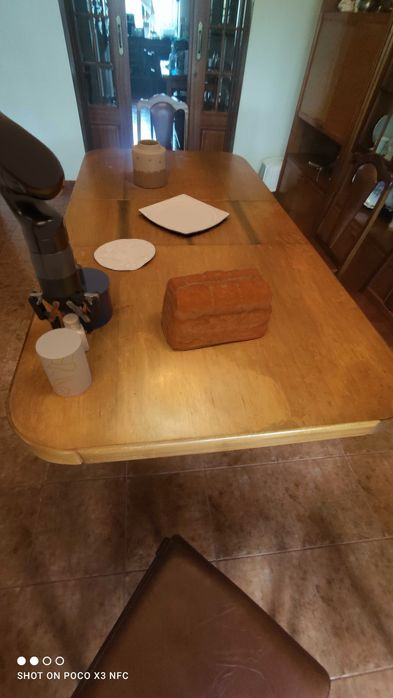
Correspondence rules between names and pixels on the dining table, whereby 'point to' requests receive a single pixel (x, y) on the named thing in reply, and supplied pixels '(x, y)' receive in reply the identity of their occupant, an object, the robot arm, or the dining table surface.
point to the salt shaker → (76, 328)
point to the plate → (184, 215)
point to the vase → (149, 164)
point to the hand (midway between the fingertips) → (74, 331)
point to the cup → (64, 361)
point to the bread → (215, 308)
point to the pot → (105, 311)
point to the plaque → (124, 254)
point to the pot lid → (93, 280)
